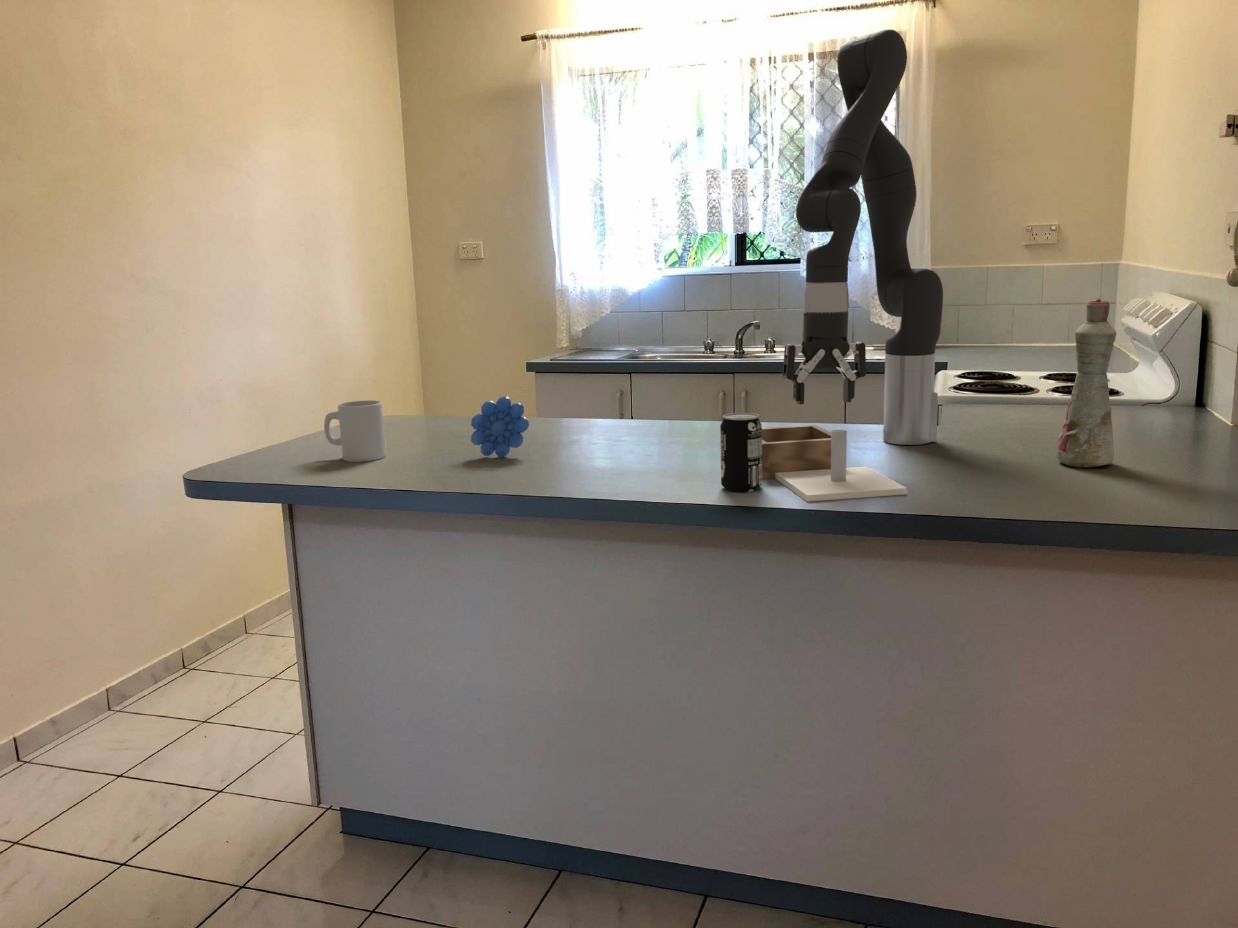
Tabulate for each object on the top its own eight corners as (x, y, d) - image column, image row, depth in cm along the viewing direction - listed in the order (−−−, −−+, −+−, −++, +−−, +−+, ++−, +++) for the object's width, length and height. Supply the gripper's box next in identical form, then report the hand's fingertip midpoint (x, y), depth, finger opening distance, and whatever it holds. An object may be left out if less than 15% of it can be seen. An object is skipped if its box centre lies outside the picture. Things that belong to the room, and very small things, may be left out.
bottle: (1091, 472, 156) (1103, 300, 150) (1044, 463, 164) (1054, 299, 158) (1125, 465, 160) (1138, 297, 154) (1078, 456, 168) (1089, 296, 162)
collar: (815, 456, 176) (815, 424, 175) (844, 473, 162) (844, 438, 161) (739, 461, 174) (739, 429, 173) (762, 479, 160) (762, 444, 159)
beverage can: (717, 484, 157) (716, 413, 155) (756, 482, 158) (756, 411, 155) (725, 494, 151) (724, 419, 148) (766, 491, 151) (765, 417, 149)
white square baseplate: (866, 472, 162) (867, 420, 160) (906, 494, 147) (908, 437, 145) (775, 478, 160) (775, 425, 158) (807, 501, 145) (807, 443, 143)
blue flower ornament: (534, 452, 190) (531, 392, 187) (528, 459, 183) (525, 397, 181) (477, 453, 191) (472, 394, 188) (469, 460, 184) (465, 399, 182)
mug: (392, 452, 195) (387, 399, 192) (378, 461, 186) (373, 406, 184) (335, 453, 196) (330, 401, 194) (319, 462, 188) (313, 407, 185)
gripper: (857, 307, 168) (854, 398, 171) (779, 309, 166) (777, 401, 169) (874, 309, 161) (870, 404, 164) (792, 311, 159) (790, 407, 162)
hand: (823, 402), depth 167 cm, fingers open, 8 cm apart
